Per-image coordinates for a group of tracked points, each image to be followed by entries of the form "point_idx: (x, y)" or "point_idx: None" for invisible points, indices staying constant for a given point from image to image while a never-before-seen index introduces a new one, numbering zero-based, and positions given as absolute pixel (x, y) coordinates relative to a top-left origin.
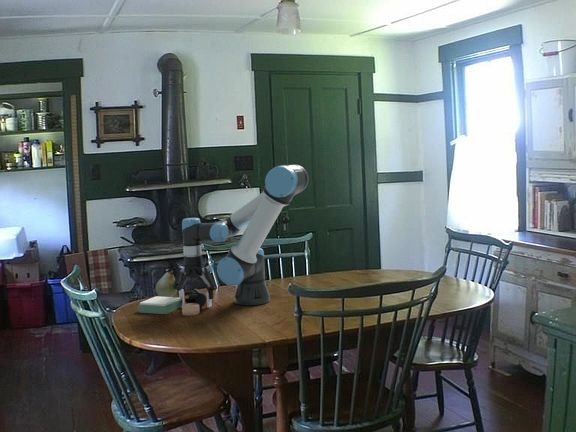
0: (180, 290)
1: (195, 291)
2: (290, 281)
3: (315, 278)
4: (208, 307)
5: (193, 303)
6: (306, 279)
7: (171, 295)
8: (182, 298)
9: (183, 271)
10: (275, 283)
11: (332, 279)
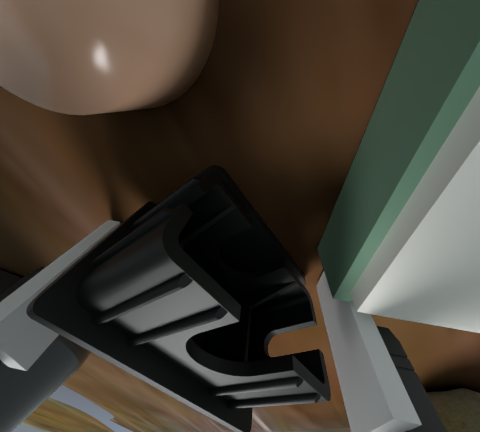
0: (392, 426)
1: (202, 385)
2: (122, 425)
3: (94, 427)
4: (110, 220)
5: (70, 90)
6: (104, 426)
7: (435, 403)
8: (337, 319)
9: None
10: (140, 423)
11: (58, 418)
